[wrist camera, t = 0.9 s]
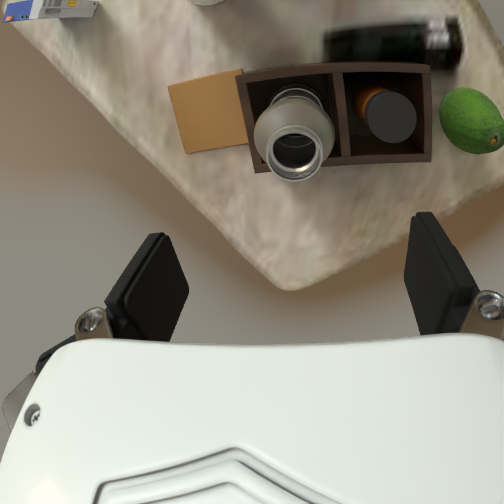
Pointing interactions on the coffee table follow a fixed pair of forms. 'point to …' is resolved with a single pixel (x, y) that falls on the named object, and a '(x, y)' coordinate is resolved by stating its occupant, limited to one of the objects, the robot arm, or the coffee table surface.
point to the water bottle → (205, 2)
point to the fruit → (472, 121)
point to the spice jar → (384, 112)
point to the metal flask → (294, 133)
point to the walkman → (49, 9)
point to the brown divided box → (346, 147)
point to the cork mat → (209, 112)
